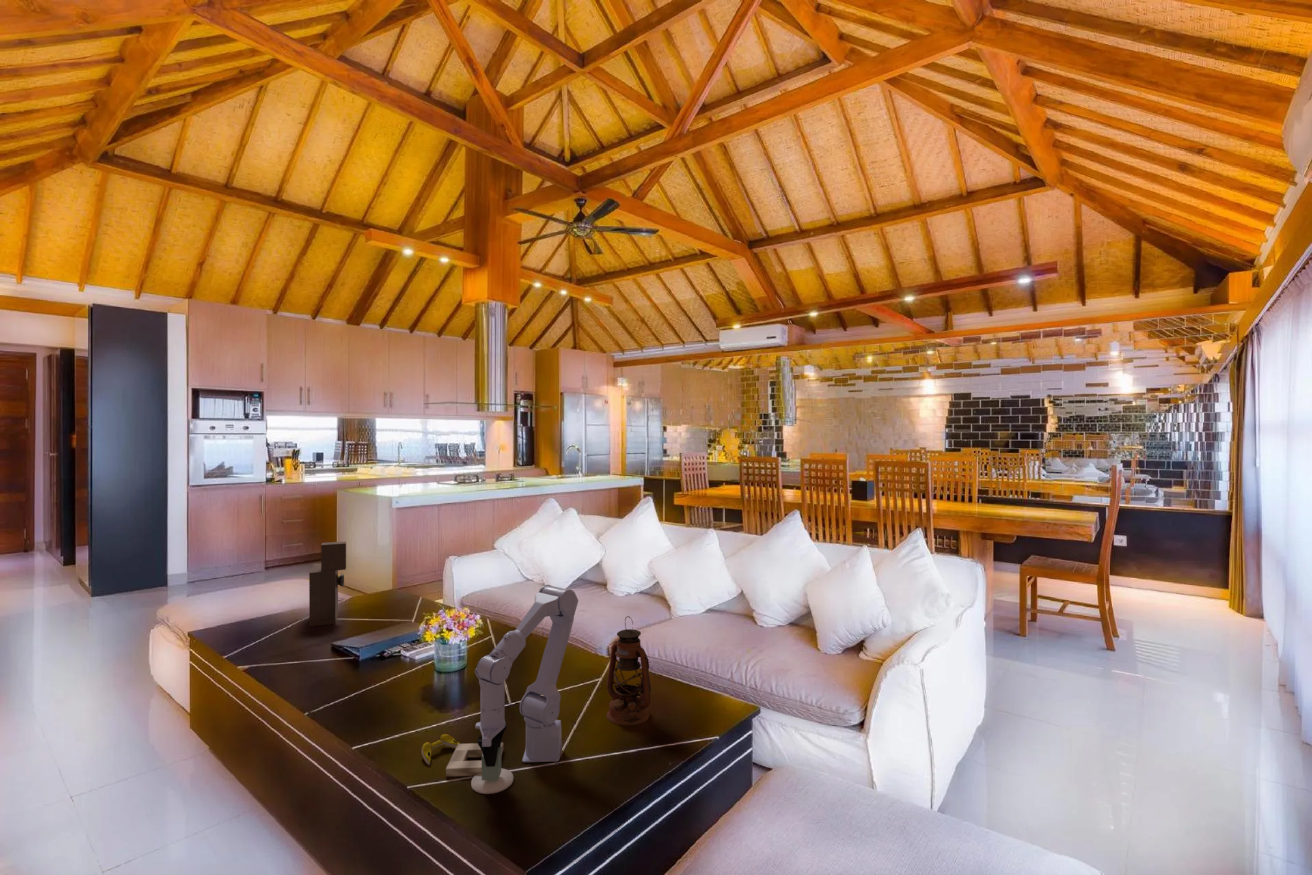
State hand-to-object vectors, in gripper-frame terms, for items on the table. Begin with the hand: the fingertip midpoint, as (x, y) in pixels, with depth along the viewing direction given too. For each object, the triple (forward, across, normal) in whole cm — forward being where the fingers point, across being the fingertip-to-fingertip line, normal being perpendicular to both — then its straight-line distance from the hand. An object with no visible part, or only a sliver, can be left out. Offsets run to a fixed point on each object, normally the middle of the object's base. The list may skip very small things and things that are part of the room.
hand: (492, 760), depth 151 cm
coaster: (+5, 0, 0) cm, 5 cm away
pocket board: (+5, -9, -6) cm, 12 cm away
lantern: (+6, -33, +34) cm, 48 cm away
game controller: (+6, -14, -17) cm, 23 cm away
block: (+4, 0, 0) cm, 4 cm away
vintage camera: (+5, -134, -100) cm, 167 cm away
